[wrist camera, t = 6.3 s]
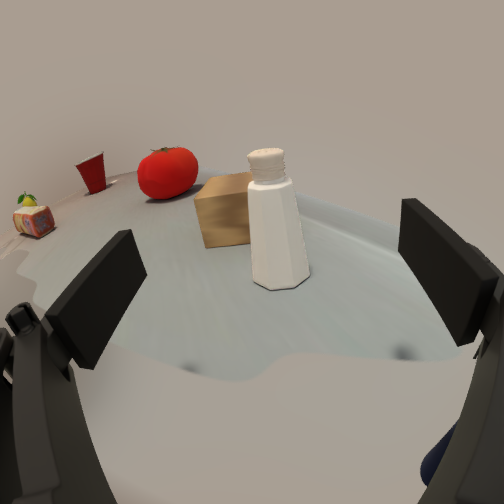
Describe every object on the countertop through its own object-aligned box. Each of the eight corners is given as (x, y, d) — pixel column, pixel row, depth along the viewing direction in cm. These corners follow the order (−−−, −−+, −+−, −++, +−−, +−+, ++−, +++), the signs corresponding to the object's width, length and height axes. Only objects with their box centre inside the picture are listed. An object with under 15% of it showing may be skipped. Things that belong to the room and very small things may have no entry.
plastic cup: (85, 193, 85) (76, 160, 79) (113, 182, 88) (104, 150, 82) (80, 200, 76) (70, 164, 70) (111, 188, 79) (101, 152, 73)
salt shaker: (317, 260, 27) (308, 143, 22) (300, 295, 23) (287, 156, 18) (265, 255, 29) (248, 146, 24) (241, 286, 25) (215, 161, 20)
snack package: (59, 227, 55) (49, 200, 51) (36, 241, 50) (26, 213, 46) (35, 224, 65) (27, 203, 61) (18, 235, 60) (9, 213, 57)
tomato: (144, 197, 60) (132, 153, 55) (198, 181, 63) (189, 137, 58) (143, 211, 50) (128, 158, 45) (208, 192, 53) (197, 139, 48)
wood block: (281, 210, 39) (276, 168, 37) (284, 239, 32) (278, 187, 29) (218, 217, 41) (209, 177, 38) (205, 248, 33) (193, 199, 30)
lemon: (24, 222, 73) (14, 195, 68) (37, 214, 77) (28, 188, 73) (29, 222, 70) (19, 193, 65) (42, 214, 74) (33, 186, 70)
